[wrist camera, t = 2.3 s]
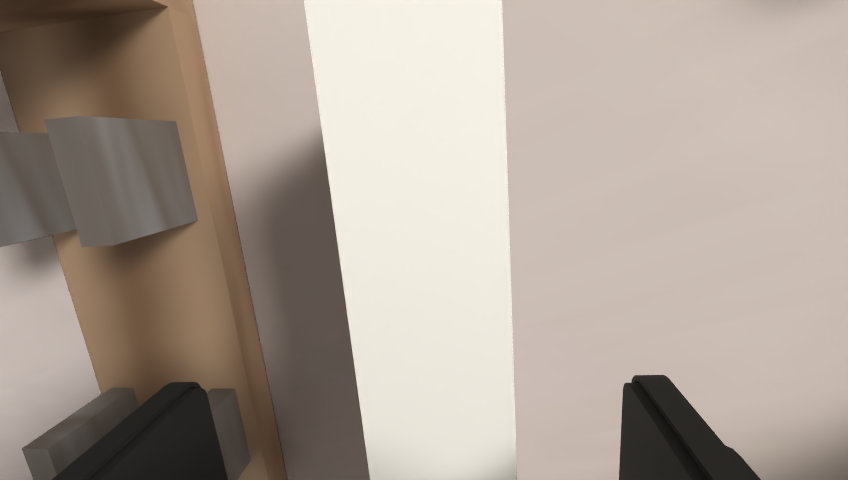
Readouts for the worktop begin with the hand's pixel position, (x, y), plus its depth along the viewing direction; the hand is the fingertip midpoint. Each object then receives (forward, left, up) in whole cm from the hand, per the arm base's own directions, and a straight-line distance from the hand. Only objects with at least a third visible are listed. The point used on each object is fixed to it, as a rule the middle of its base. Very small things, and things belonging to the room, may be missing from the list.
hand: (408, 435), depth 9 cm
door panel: (-1, 0, -9) cm, 9 cm away
